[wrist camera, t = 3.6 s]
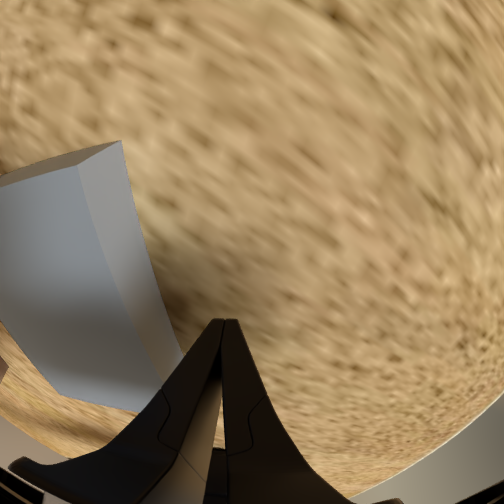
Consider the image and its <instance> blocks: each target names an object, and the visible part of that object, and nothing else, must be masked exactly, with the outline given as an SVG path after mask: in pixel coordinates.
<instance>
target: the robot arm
mask: <svg viewBox="0 0 504 504" xmlns="http://www.w3.org/2000/svg"><path fill="white" fill-rule="evenodd" d="M221 399H222V400H223V418H224V435H225V450H226V451H215V450H212V448H213V442H214V437H215V431H216V426H217V420H218V415H219V409H220V404H221ZM8 469H9V470H10V471H11V472H13V473H14V474H16V475H18V476H19V477H21V478H23V479H24V480H26V481H28V482H29V483H31V484H33V485H35V486H37V487H38V488H40V489H42V490H44V493H43V492H41V491H40V490H38V489H36V488H34V487H33V486H31V485H29V484H27V483H26V482H24V481H22V480H21V479H19V478H17V477H16V476H14V475H13V474H11V473H9V472H8V471H6V470H5V469H3V468H1V467H0V504H356V503H353V502H351V501H349V500H348V499H347V498H345V497H344V496H343V495H342V494H340V493H339V492H338V491H337V490H336V489H334V488H333V487H332V486H331V485H330V484H329V483H327V482H326V481H325V480H324V479H323V478H322V477H321V476H319V475H318V474H317V473H316V472H315V471H314V470H313V469H312V468H311V467H310V465H309V464H308V463H307V461H306V460H305V459H304V457H303V456H302V455H301V453H300V452H299V450H298V449H297V447H296V445H295V444H294V442H293V441H292V439H291V438H290V436H289V435H288V433H287V432H286V430H285V428H284V427H283V425H282V423H281V421H280V420H279V418H278V416H277V414H276V412H275V410H274V408H273V406H272V403H271V401H270V399H269V396H268V395H267V392H266V389H265V387H264V384H263V382H262V380H261V377H260V375H259V372H258V370H257V367H256V365H255V362H254V360H253V357H252V355H251V352H250V350H249V347H248V345H247V342H246V340H245V337H244V335H243V332H242V330H241V327H240V324H239V322H238V320H237V319H226V320H225V319H221V318H214V319H212V320H211V322H210V323H209V324H208V326H207V327H206V328H205V330H204V331H203V332H202V334H201V335H200V336H199V338H198V339H197V340H196V342H195V343H194V344H193V346H192V347H191V348H190V350H189V351H188V352H187V354H186V355H185V356H184V357H183V359H182V360H181V361H180V363H179V364H178V365H177V367H176V368H175V369H174V371H173V372H172V373H171V375H170V376H169V377H168V379H167V380H166V381H165V383H164V384H163V385H162V386H161V389H159V390H158V392H157V393H156V394H155V396H154V397H153V398H152V399H151V401H150V402H149V403H148V404H147V405H146V407H145V408H144V409H143V410H142V411H141V412H140V413H139V414H138V415H137V416H136V417H135V418H134V419H133V420H132V421H131V422H130V423H129V424H128V425H127V426H126V427H125V428H124V429H123V430H122V431H121V432H120V433H119V434H118V435H117V436H116V437H115V438H114V439H113V440H112V441H111V442H110V443H108V444H107V445H106V446H104V447H103V448H101V449H99V450H96V451H94V452H91V453H88V454H85V455H82V456H79V457H76V458H73V459H70V460H67V461H64V462H61V463H57V464H53V465H42V464H39V463H37V462H35V461H32V460H31V459H29V458H27V457H24V456H23V457H21V458H19V459H17V460H15V461H14V462H12V463H11V464H10V465H9V466H8ZM373 504H404V503H403V502H402V501H401V500H400V499H399V498H394V499H390V500H385V501H381V502H377V503H373ZM455 504H504V480H501V481H500V482H498V483H496V484H494V485H492V486H490V487H488V488H486V489H484V490H482V491H479V492H478V493H476V494H474V495H472V496H469V497H467V498H465V499H463V500H461V501H459V502H457V503H455Z"/></svg>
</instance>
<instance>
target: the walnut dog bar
mask: <svg viewBox="0 0 504 504" xmlns="http://www.w3.org/2000/svg"><path fill="white" fill-rule="evenodd" d="M8 368H9V367H8V365H7V364H6V363H5V362H4V361H3V359H2V358H1V357H0V383H1V381H2V379H3V377H4V375H5V373H6V371H7V369H8Z"/></svg>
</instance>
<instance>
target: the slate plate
mask: <svg viewBox="0 0 504 504" xmlns="http://www.w3.org/2000/svg"><path fill="white" fill-rule="evenodd" d="M0 320H1V322H2V323H3V325H4V326H5V328H6V329H7V331H8V332H9V333H10V335H11V336H12V338H13V339H14V340H15V342H16V343H17V344H18V346H19V347H20V348H21V350H22V351H23V352H24V354H25V355H26V356H27V357H28V359H29V360H30V361H31V362H32V364H33V365H34V366H35V367H36V368H37V370H38V371H39V372H40V373H41V374H42V375H43V377H44V378H45V379H46V380H47V381H48V382H49V383H50V384H51V386H52V387H53V388H54V389H55V390H56V391H57V392H58V393H59V394H60V395H63V396H66V397H70V398H73V399H77V400H81V401H85V402H89V403H94V404H98V405H103V406H107V407H112V408H117V409H123V410H128V411H134V412H141V411H142V410H143V409H144V408H145V407H146V405H147V404H148V403H149V402H150V401H151V399H152V398H153V397H154V396H155V394H156V393H157V392H158V390H159V389H161V386H162V385H163V384H164V383H165V381H166V380H167V379H168V377H169V376H170V375H171V373H172V372H173V371H174V369H175V368H176V367H177V365H178V364H179V363H180V361H181V360H182V359H183V354H182V351H181V349H180V346H179V344H178V341H177V338H176V336H175V333H174V330H173V328H172V325H171V322H170V319H169V317H168V314H167V311H166V308H165V305H164V302H163V299H162V296H161V293H160V290H159V287H158V284H157V281H156V278H155V275H154V272H153V268H152V265H151V262H150V258H149V255H148V252H147V248H146V245H145V241H144V238H143V234H142V230H141V226H140V223H139V219H138V215H137V211H136V207H135V203H134V199H133V195H132V190H131V186H130V181H129V177H128V172H127V168H126V163H125V158H124V153H123V147H122V142H121V140H120V141H115V142H111V143H106V144H102V145H98V146H93V147H89V148H86V149H82V150H78V151H74V152H71V153H67V154H64V155H60V156H57V157H53V158H50V159H47V160H44V161H41V162H38V163H35V164H32V165H29V166H26V167H23V168H20V169H17V170H15V171H12V172H9V173H7V174H4V175H2V176H0Z"/></svg>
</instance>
